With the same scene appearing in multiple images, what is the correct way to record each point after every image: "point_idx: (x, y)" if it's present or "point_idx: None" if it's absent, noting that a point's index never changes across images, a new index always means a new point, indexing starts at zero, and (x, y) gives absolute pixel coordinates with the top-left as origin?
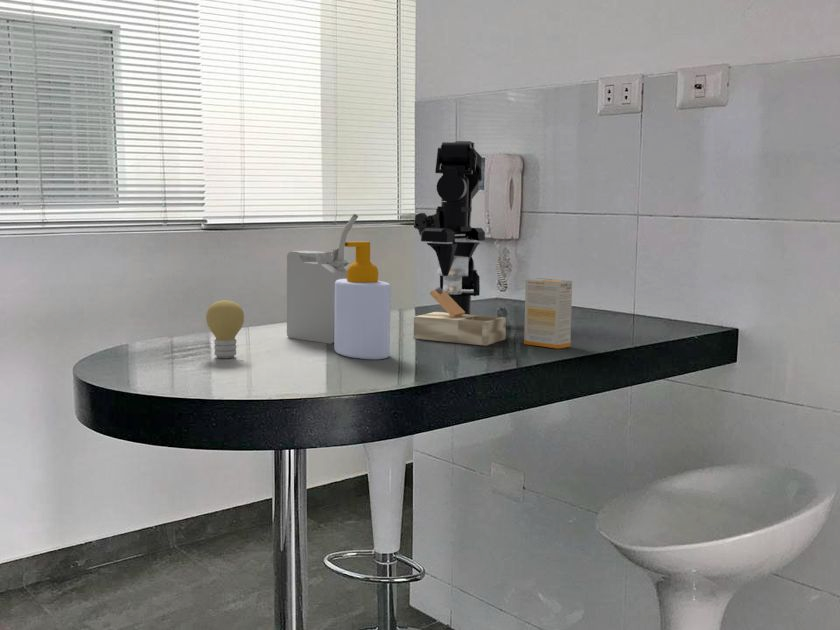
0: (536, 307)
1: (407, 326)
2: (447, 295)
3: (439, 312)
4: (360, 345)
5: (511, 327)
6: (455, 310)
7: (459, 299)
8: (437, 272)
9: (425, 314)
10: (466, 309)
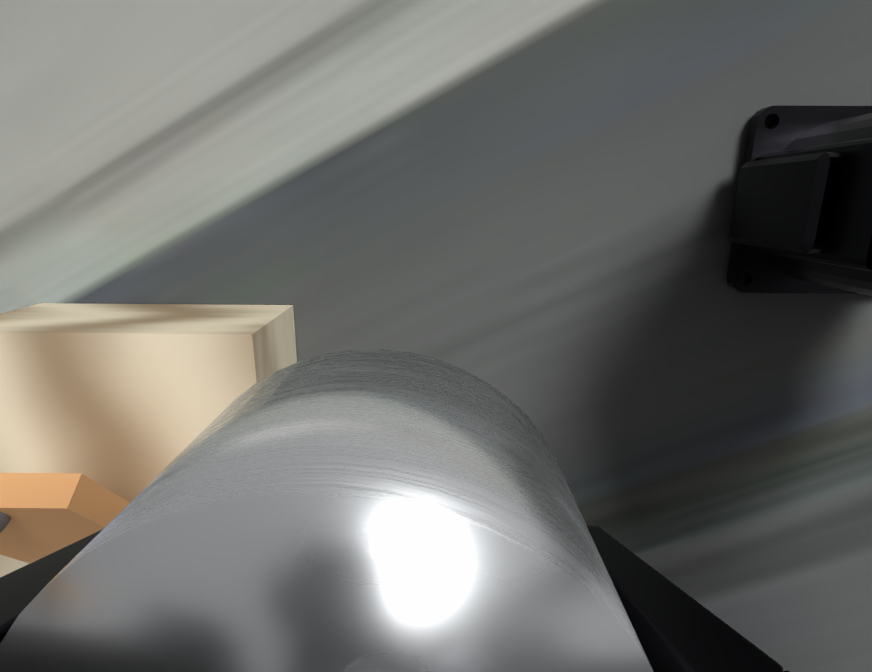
0: None
1: (423, 35)
2: (88, 530)
3: (229, 372)
4: None
5: (697, 537)
6: None
7: (844, 265)
8: (254, 389)
9: (71, 345)
10: (837, 286)
